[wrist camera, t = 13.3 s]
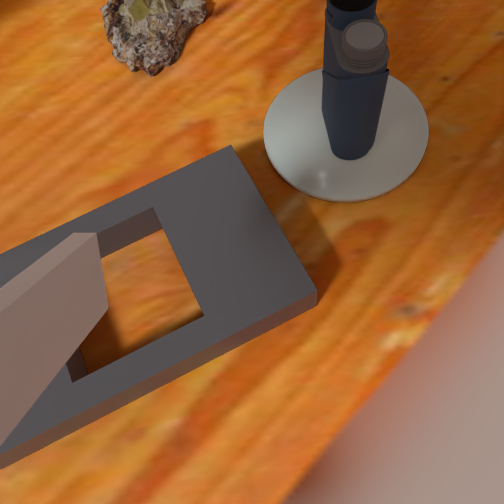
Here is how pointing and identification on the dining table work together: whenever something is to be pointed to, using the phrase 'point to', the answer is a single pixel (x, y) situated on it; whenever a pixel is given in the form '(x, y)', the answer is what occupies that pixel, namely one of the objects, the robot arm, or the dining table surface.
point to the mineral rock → (150, 30)
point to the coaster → (319, 150)
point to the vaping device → (353, 76)
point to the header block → (200, 280)
